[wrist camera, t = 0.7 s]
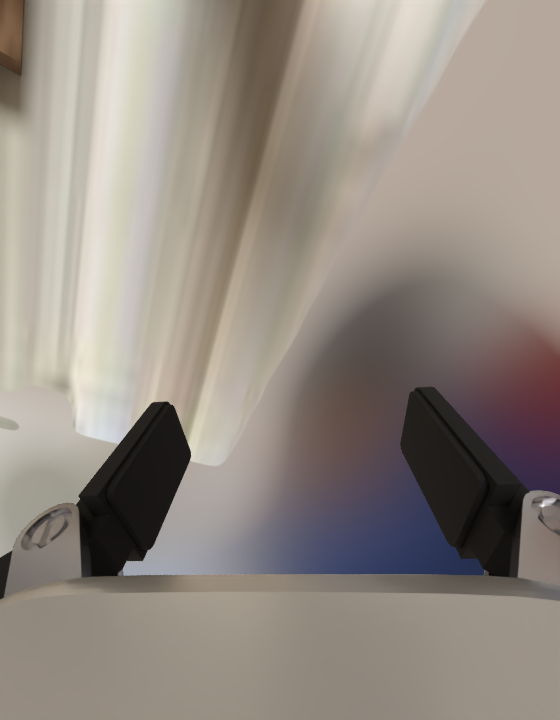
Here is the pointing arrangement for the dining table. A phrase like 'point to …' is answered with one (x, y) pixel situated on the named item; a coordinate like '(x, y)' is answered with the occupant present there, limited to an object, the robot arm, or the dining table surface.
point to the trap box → (11, 34)
